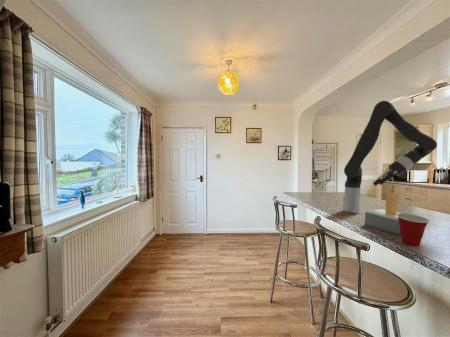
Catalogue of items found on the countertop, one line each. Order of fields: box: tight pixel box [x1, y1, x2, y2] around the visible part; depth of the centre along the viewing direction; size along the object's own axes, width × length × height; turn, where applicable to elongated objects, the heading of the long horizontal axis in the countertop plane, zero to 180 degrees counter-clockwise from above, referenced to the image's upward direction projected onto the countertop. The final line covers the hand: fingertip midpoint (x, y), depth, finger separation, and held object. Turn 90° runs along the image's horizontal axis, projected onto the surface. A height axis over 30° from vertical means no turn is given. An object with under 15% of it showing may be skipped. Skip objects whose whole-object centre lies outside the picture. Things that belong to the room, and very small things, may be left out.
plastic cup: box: [397, 212, 430, 247], centre depth 94 cm, size 11×11×12 cm
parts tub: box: [364, 212, 401, 236], centre depth 115 cm, size 18×14×7 cm
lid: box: [365, 193, 400, 221], centre depth 115 cm, size 18×14×12 cm
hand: (376, 184), depth 127 cm, fingers open, 8 cm apart
